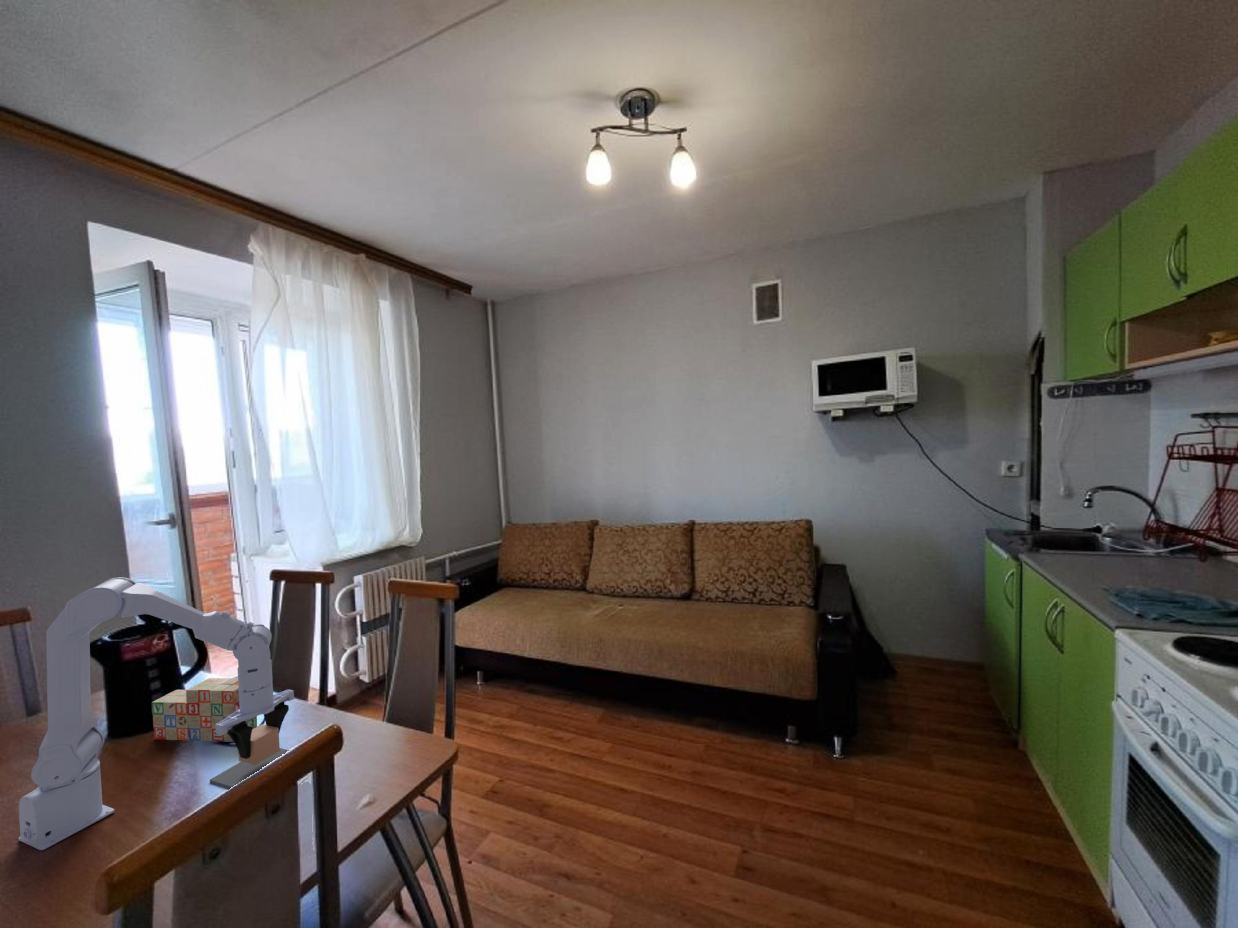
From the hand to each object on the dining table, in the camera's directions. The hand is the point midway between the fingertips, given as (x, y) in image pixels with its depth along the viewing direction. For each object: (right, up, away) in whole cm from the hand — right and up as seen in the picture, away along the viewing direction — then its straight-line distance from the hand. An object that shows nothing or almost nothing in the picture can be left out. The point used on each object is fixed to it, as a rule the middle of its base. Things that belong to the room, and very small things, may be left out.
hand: (259, 748), depth 102 cm
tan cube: (0, -1, 0) cm, 1 cm away
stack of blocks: (-24, -5, +15) cm, 29 cm away
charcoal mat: (0, -4, 0) cm, 4 cm away
